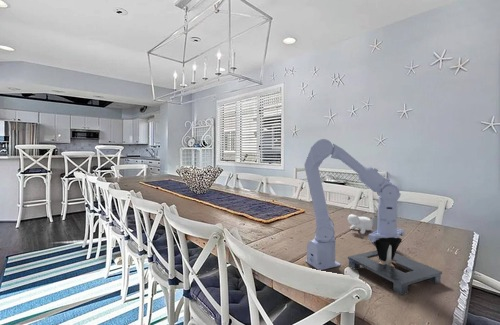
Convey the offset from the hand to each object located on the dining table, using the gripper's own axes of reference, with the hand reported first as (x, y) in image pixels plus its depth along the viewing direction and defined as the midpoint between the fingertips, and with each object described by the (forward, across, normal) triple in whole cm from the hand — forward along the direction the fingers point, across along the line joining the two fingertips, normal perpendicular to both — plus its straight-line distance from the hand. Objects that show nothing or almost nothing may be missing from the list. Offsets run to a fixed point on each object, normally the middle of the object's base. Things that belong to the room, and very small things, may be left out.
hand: (386, 259), depth 86 cm
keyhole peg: (+3, 0, 0) cm, 3 cm away
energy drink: (+4, +19, +19) cm, 27 cm away
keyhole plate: (+4, 0, -2) cm, 5 cm away
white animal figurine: (+4, +26, +35) cm, 44 cm away
